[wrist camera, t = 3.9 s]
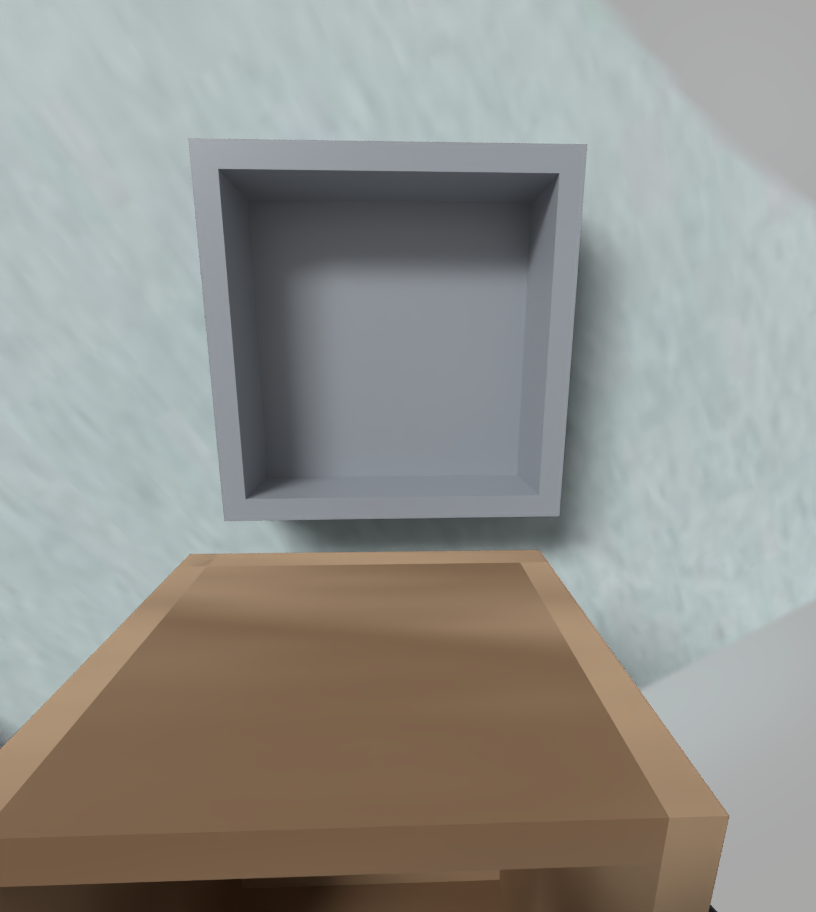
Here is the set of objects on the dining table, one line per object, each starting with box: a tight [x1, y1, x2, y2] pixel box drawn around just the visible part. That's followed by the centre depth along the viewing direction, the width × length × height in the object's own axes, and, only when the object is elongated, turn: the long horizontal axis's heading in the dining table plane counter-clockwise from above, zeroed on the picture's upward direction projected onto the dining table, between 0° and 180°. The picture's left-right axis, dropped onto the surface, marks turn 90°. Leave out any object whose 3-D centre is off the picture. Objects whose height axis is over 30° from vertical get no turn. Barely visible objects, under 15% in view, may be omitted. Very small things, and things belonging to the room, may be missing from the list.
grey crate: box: [188, 138, 587, 521], centre depth 17 cm, size 12×12×4 cm
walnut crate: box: [0, 550, 729, 912], centre depth 7 cm, size 8×6×5 cm
